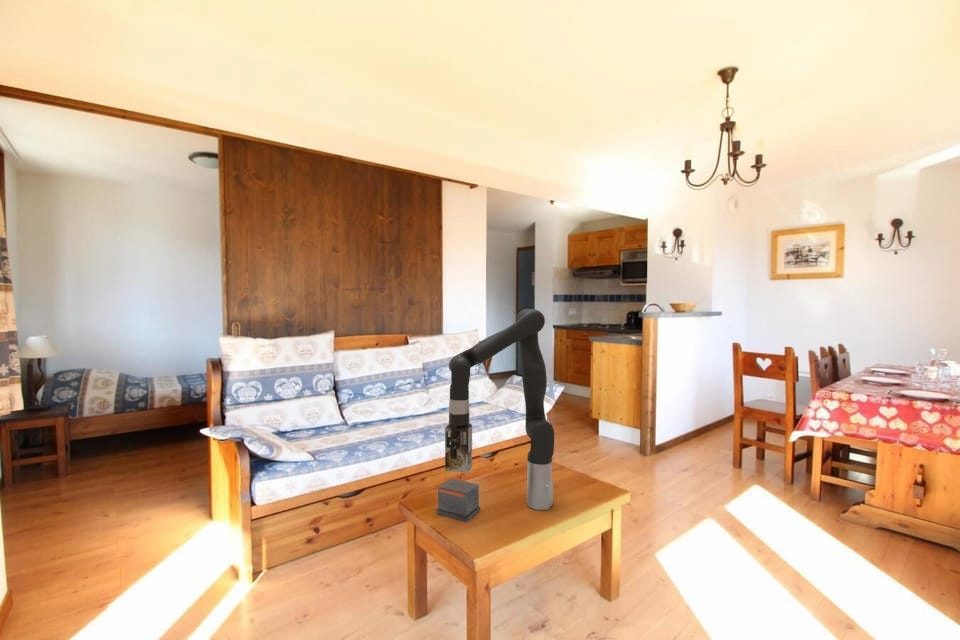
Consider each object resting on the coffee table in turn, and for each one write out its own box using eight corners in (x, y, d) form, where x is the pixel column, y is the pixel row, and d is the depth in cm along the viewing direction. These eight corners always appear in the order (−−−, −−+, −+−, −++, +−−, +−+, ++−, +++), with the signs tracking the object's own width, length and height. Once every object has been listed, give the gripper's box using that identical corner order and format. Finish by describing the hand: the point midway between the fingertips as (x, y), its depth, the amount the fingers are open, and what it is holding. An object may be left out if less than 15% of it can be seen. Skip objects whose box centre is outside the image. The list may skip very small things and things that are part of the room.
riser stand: (480, 510, 167) (480, 484, 167) (466, 522, 158) (467, 494, 158) (450, 503, 173) (450, 477, 173) (436, 513, 164) (436, 486, 164)
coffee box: (472, 467, 168) (472, 424, 167) (468, 473, 161) (468, 429, 161) (449, 465, 169) (449, 422, 169) (444, 471, 163) (444, 427, 162)
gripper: (460, 405, 172) (460, 448, 173) (439, 413, 160) (439, 459, 160) (477, 408, 169) (477, 451, 170) (457, 416, 156) (457, 463, 157)
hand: (459, 455), depth 165 cm, fingers closed on coffee box, 7 cm apart
